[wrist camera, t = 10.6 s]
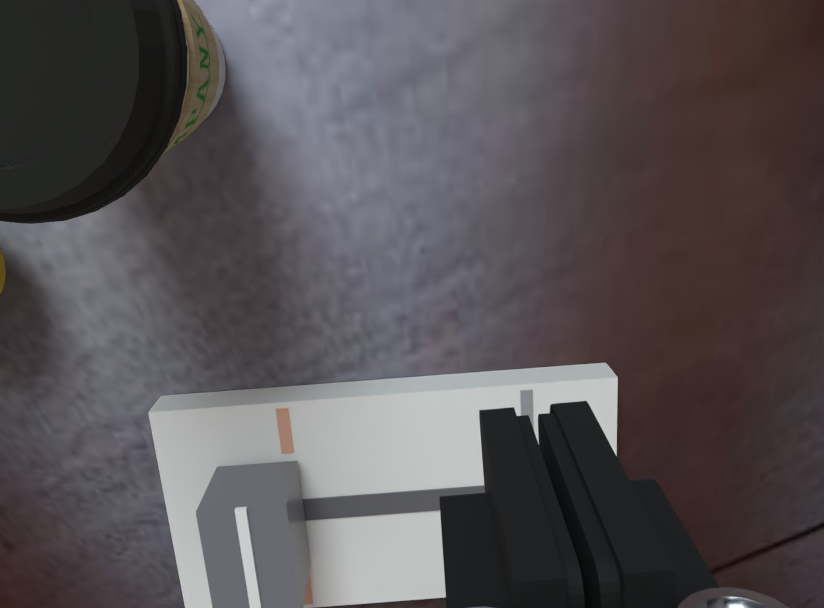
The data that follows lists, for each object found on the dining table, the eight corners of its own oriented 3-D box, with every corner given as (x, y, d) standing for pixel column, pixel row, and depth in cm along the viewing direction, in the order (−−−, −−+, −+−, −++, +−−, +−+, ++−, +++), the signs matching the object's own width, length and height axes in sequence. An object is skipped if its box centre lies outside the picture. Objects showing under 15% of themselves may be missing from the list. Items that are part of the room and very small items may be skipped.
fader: (297, 459, 35) (285, 506, 31) (311, 564, 37) (301, 621, 33) (216, 465, 35) (194, 513, 31) (233, 570, 37) (214, 628, 33)
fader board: (605, 362, 37) (618, 378, 35) (604, 561, 40) (615, 585, 38) (160, 395, 37) (147, 413, 35) (196, 592, 40) (186, 618, 38)
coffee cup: (112, 207, 34) (-93, 289, 20) (3, -1, 31) (-327, -82, 17) (301, 127, 33) (233, 152, 19) (206, -93, 31) (41, -259, 16)
